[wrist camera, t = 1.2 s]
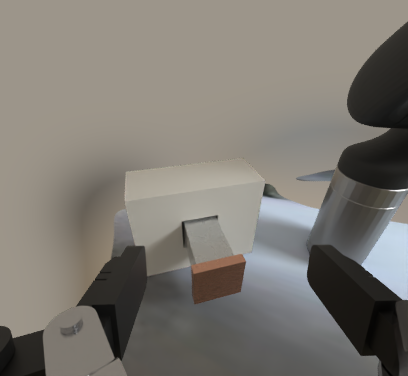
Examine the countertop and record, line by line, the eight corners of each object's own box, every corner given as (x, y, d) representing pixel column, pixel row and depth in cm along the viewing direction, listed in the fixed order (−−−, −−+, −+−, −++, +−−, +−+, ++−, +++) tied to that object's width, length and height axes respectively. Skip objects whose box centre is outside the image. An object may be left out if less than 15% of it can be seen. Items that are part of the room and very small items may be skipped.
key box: (235, 224, 47) (243, 157, 38) (251, 252, 40) (265, 180, 32) (141, 242, 42) (125, 171, 34) (143, 277, 36) (124, 201, 27)
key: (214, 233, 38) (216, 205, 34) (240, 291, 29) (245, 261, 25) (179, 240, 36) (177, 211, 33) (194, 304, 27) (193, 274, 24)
